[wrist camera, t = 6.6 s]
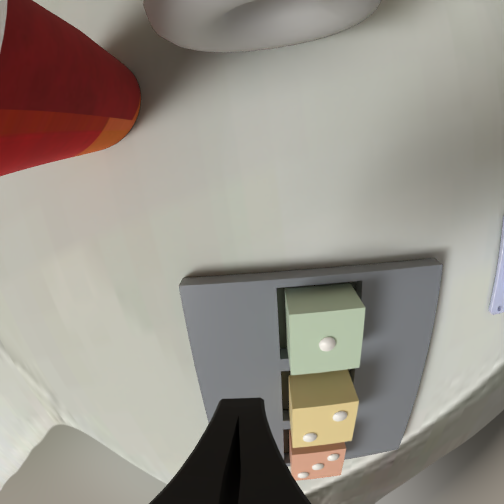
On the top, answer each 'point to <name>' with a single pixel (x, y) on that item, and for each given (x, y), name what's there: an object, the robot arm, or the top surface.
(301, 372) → the tile one pip
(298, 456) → the tile three pips
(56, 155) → the paper cup
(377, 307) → the grey slotted tray
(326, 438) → the tile two pips
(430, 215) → the top surface
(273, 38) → the donut
